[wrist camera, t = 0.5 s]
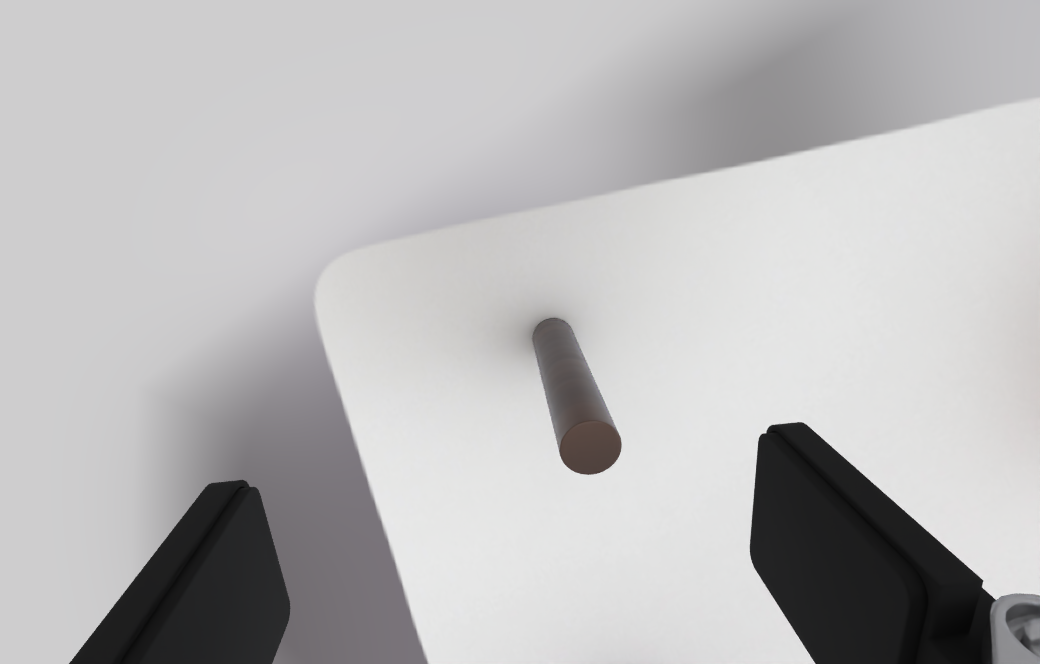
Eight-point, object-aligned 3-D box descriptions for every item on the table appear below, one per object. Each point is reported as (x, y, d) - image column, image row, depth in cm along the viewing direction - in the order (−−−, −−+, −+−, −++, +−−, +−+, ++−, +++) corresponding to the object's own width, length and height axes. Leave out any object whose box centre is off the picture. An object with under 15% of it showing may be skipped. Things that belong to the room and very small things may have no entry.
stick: (530, 320, 32) (557, 424, 21) (571, 315, 32) (620, 417, 21) (534, 358, 33) (561, 478, 22) (574, 354, 33) (622, 471, 22)
